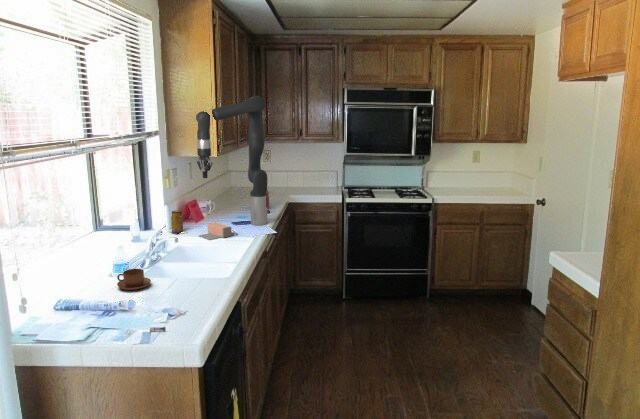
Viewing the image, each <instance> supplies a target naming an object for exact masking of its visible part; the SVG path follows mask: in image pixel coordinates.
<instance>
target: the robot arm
mask: <svg viewBox="0 0 640 419" xmlns="http://www.w3.org/2000/svg"><path fill="white" fill-rule="evenodd" d="M265 108H266V100H265V99H264V98H263V97H261V96H259V95H253V96H251V97H249V99H247V100H245V101H241V102H239V103H233V104H226V105H222V106H219V107H214V108H212V109H213V110H212V109H211V110H212V114H213V117H214V119H215V120H216V121H222V120H225V119H230V118H232V117H236V116H239V115H243V114H247V116H248V170H247V173H248V174H247V177H248V178H247V179H248V181H249V182H250V184H252V185H253V186H252V188H253V190H252V189H251V190H250V192H249V193H250V198H249V199H250V224H251V225H252V226H263V225H266V224H268V209H267V208H266V192H267V188H268V174H267V172H266V171H265V170H264V169H261V159H262V155H263V153H264V151H265V149H264V148H265V133H264V128H263V123H262V112H263V110H265ZM204 111H205V110H202V111H199V112H198V113H197V114H196V116H195V120H196V122H197V132H196V133H197V134H196V136H197V141H196V142H197V143H196V151H197V156H198V157H199V158H198V160H197V161H196V164H197V166H198V169H199V171H201V172H202V178H203V179H208V172H209V171H210V170H211V168H212V166H213V162H212V161H211V158H210V157H211V156H212V142H211V132H210V129H211V122H210V115H209V114H208V113H207V112H204ZM216 121H215V122H216Z"/></svg>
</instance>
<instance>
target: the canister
mask: <svg viewBox="0 0 640 419" xmlns="http://www.w3.org/2000/svg"><path fill="white" fill-rule="evenodd" d="M252 190H253V187H252V188H251V191H252ZM266 208H267V210H269V209H270V191H269V188H268V187H267V192H266Z"/></svg>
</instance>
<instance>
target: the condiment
mask: <svg viewBox="0 0 640 419" xmlns="http://www.w3.org/2000/svg"><path fill="white" fill-rule="evenodd" d="M170 219H171V220H170V221H171V231H169V234H170V233H171V234H174V235H178V234H177V233H181V232H183V231H184V233H183V234H187V233H188V231H185V230H184V223H183V221H184V218H183V212H182V210H178V209H177V210H172V211H171V217H170Z"/></svg>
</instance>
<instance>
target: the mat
mask: <svg viewBox="0 0 640 419" xmlns="http://www.w3.org/2000/svg"><path fill="white" fill-rule="evenodd" d="M235 233H236V234H237V235H238V233H237V232H233V231H231V235H232V236H235V235H234V234H235ZM198 236H199V238H201V237H202V239H205V240H207V241H208V240H209V241H212V240H218V239H222V238H224V237H221V236H217V235H214V234H211V233H208V232H207V233H205V234H199V235H197V237H198Z"/></svg>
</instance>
